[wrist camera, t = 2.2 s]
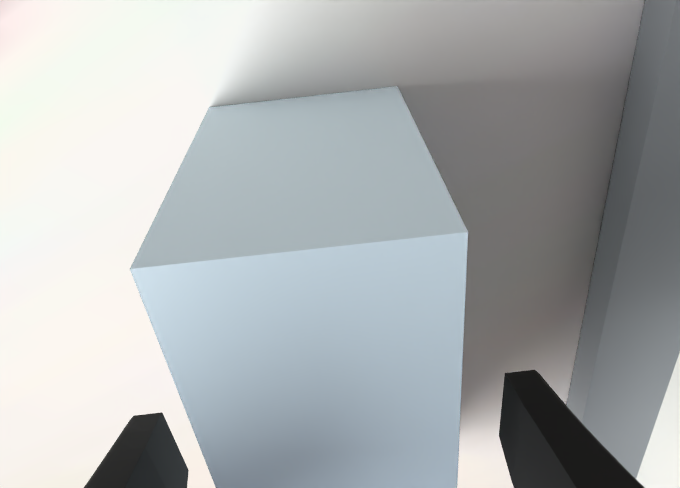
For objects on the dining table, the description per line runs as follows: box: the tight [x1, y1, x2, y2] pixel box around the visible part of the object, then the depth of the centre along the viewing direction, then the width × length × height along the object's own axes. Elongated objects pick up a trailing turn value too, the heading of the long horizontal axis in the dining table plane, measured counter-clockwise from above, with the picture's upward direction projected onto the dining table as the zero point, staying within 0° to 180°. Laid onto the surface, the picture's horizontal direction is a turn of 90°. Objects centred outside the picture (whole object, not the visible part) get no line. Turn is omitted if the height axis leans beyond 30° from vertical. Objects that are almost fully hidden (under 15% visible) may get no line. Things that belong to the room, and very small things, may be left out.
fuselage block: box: [130, 86, 468, 488], centre depth 12 cm, size 12×4×6 cm, turn 6°
